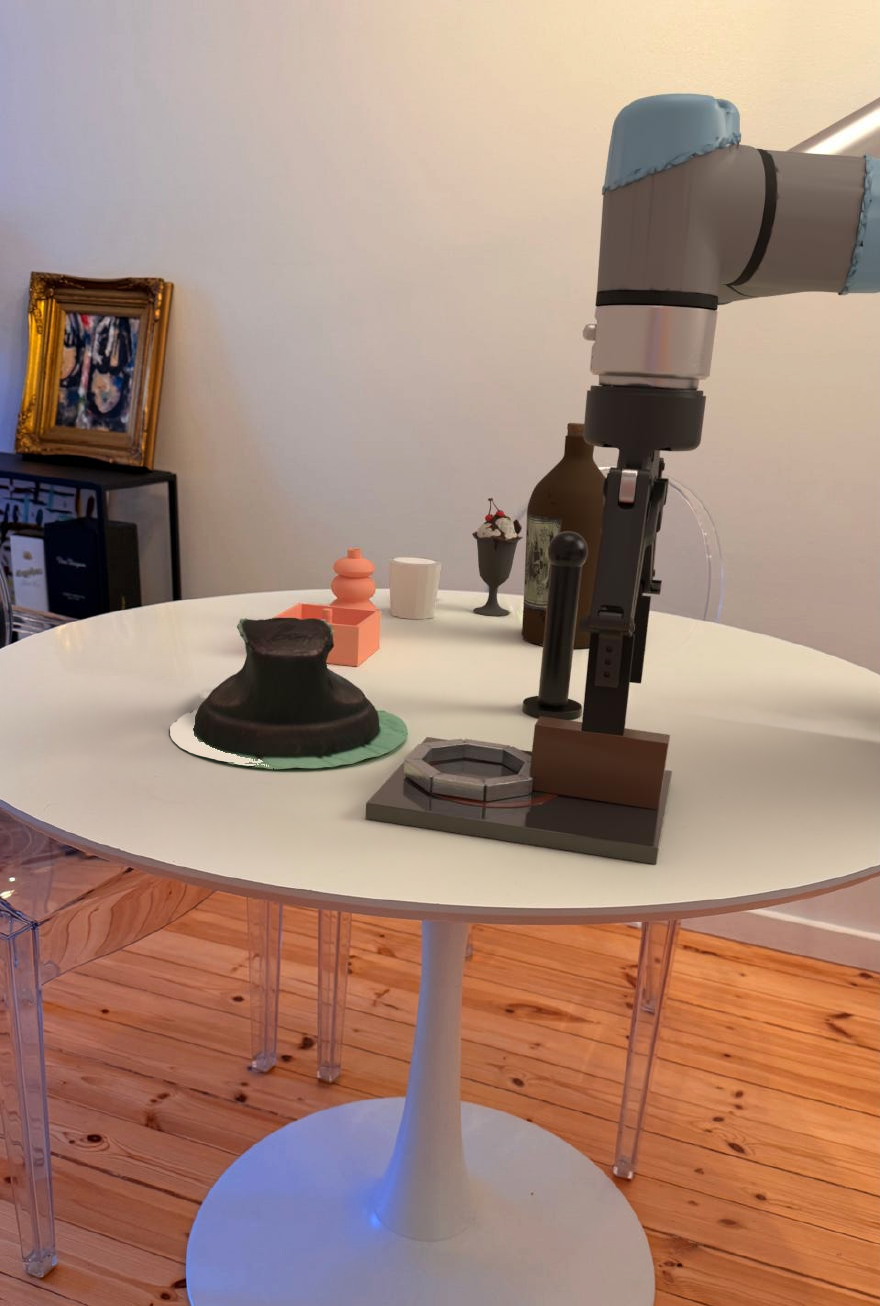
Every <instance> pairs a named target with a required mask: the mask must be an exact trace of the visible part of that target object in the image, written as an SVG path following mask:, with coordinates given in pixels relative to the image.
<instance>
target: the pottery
mask: <svg viewBox="0 0 880 1306" xmlns="http://www.w3.org/2000/svg"><path fill="white" fill-rule="evenodd" d="M362 551H363V549H361V548H353V547H352V548H347V556H345V557H341V558H339V559H337V560H336V561H335V562H334V563H333V566H332V569H333V571H334V573H335V574H337V576H334V578H333V579H332V581H331V584H330V590H331V592H332V594H333V595H334V596H335V597H336V598H335V599H333V600H332V602H330V604H329V605H325V604H315V603H306V602H305V603H304V602H298V603H296V604H295V605H293V606H291V607H289V608H288V609H285V610H284V611H283V612H281V613H278V614H277V615H275V616H273V617H272V618H298V619H301V620H303V619H311V618H314V619H319V620H326V621H327V624H328V625H329V626H330V625H333V628H332V629H331V631H334V633H333V642H334V647H333V648H332V650H331V651H330V652H329V654H328V658H327V660H326V663H327V664H331V665H341V666H349V667H360V665H361V664H362V663H363V662H365V661H366V660H368V658H369V657H371V656H372V655H373V654H374V653H375V652H376V651H378V650H379V649H380V644H381V643H380V641H381V618H382V617H381V615H382V611H381V610H379V609H378V608H377V606H376V604H375V603H374V602H373V601H371V600H370V599H371V598H372V597H374V595H375V594H376V590H377V586H376V582H375V580H374V579H373V578H372V577H370V576H372V575H373V574H374V573H375V571H376V568H375V564H374V563H373V562H372V561H371V560H369V559H367V558H364V557H362V554H363V553H362Z"/></svg>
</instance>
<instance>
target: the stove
mask: <svg viewBox="0 0 880 1306" xmlns="http://www.w3.org/2000/svg"><path fill="white" fill-rule="evenodd" d="M445 740H446V739H444V738H436V737H431V736H430V737H429V736H426V737H425V738H424V739H423V740H422V741H421V743H428V742H437V741H445ZM520 750H521V751H523V752H524V753H526V754H528V755H530V756H532V750H530V751H529V750H524V749H520ZM404 763H405V760H404V761H403V762H402V763H401V764H400V766H399V767H398V768H397V769H396V770H395V771H394V772H393V773H392V774H391V775H390V776H389V777H388V779H387V780H386V781H385V782H384V783H383V784H382V785H381V786H380V787H379V788H378V789H377V791H376V792H375V793H374V794H373V795H372V796H371V797H370V798H369V799H368V800H367V802H366V803H365V819H366V820H371V821H377V822H378V821H379V822H384V823H392V824H398V825H403V826H410V827H415V828H416V827H417V828H422V829H428V830H436V831H441V832H446V833H447V832H449V833H453V834H459V835H460V834H461V835H468V836H473V837H480V838H486V839H493V840H498V841H499V840H500V841H505V842H511V843H518V844H524V845H531V846H536V847H543V848H549V849H556V850H561V851H569V852H575V853H580V854H587V855H588V854H589V855H594V856H600V857H607V858H613V859H619V860H625V861H633V862H638V863H645V864H651V865H657V862H658V857H659V851H660V847H661V846H660V845H661V840H662V835H663V828H664V823H665V817H666V811H667V806H668V800H669V795H670V788H671V783H672V774H673V770H668V769H665V773H664V779H663V786H662V792H661V799H660V804H659V809H658V810H654V809H648V808H642V807H635V806H629V805H623V804H616V803H610V802H604V801H598V800H591V799H585V798H579V797H572V796H566V795H560V794H553V793H547V792H541V791H534V790H533V791H532V793H529V795H524V796H517V797H511V798H504V799H498V800H491V801H485V800H483V801H479V800H473V799H467V798H460V797H454V796H448V795H442V794H436V793H432V792H428V791H427V790H425V789H424V788H422V787H421V786H420V785H418V784H417V783H415V782H414V781H412V780H411V779H410V778H408V777H407V776H405V775H404ZM429 765H430V766H432V767H433V768H435V769H436V770H438V771H440V772H441V773H444V774H450V775H457V776H463V777H469V778H476V779H482V780H483V779H490V778H497V777H504V776H511V775H518V774H519V773H517V772H515V771H514V770H512V769H510V768H509V767H507V766H505V765H503V764H502V763H496V762H489V761H483V760H476V759H470V758H457V759H450V760H442V761H434V762H430V764H429Z"/></svg>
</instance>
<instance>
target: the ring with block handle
mask: <svg viewBox="0 0 880 1306" xmlns="http://www.w3.org/2000/svg"><path fill="white" fill-rule="evenodd" d="M581 728H582V721H577V720H563V719H556V718H549V717H542V716H540V717H539V718H538V719H537V720H536V722H535V724H534V729H533V737H532V746H531V747H532V749H531V751H532V756H530V755H528V754H526V753H524V752H523V751H521V750H522V749H519V748H517V747H516V746H513V745H512V746H511V745H509V744H502V743H498V742H497V743H496V742H490V741H483V740H476V739H470V738H464V739H462V738H455V739H454V738H453V739H445V741H437V742H428V743H422V742H421V743H418V744H417V745H415V747H414V748H413V749H412V750H411V751H410V752H409V753H408V754H407V756H406V757H404V761H405V763H404V775H405V776H407V777H408V778H410V779H411V780H412V781H414V782H415V783H417V784H418V785H420V786H421V787H422V788H424V789H425V790H427V791H428V792H432V793H436V794H442V795H448V796H454V797H460V798H467V799H473V800H479V801H483V800H485V801H491V800H498V799H504V798H511V797H517V796H524V795H529V793H532V791H533V790H534V791H541V792H547V793H553V794H560V795H566V796H572V797H579V798H585V799H591V800H598V801H604V802H610V803H616V804H623V805H629V806H635V807H642V808H648V809H654V810H658V809H659V804H660V799H661V792H662V786H663V779H664V773H665V770H666V765H667V758H668V754H669V753H668V752H669V745H670V739H671V734H668V733H667V734H666V733H660V732H652V731H647V730H639V729H633V728H626V727H625V731H624V735H623V736H619V735H610V734H602V733H593V732H585V731H581ZM457 758H470V759H476V760H483V761H489V762H496V763H502V764H503V765H505V766H507V767H509V768H510V769H512V770H514V771H515V772H517V773H519V774H518V775H511V776H504V777H497V778H490V779H483V780H482V779H476V778H469V777H463V776H457V775H450V774H444V773H441V772H440V771H438V770H436V769H435V768H433V767H432V766H430V765H429V764H430V762H434V761H442V760H450V759H457Z"/></svg>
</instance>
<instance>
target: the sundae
mask: <svg viewBox="0 0 880 1306" xmlns="http://www.w3.org/2000/svg"><path fill="white" fill-rule="evenodd" d="M487 501H488V502H489V505H490V506H489V510H488V513H487V514H486V515H485V517H484V520H485V522H483V523H481V525H480V526H479V527H478V529H477V531H476V530H475V531H474V532H472V534H471V535H472V537H473V539H475V540H476V546H477V563H478V564H477V565H478V572H479V576H480V578H481V580H482V581H483V582H484V583H485V584H486V585H487V586H488V596H487V600H486V602H485V603H484V604H483V606H479V607H475V608H473V610H472V611H473V613H475V614H478V615H481V616H487V617H489V616H490V617H504V616H509V615H510V614H511V611H510V610H508V609H506V608H504V607H501V605H500V604H499V601H498V589H499V587H500V586H502V585H503V584H505V582H506V581H507V580H508V579H509V578H510V576H511V572H512V568H513V563H514V558H515V554H516V550H517V545H518V543H519V541H521V540H522V539H523V538H524V537H523V536H520V535H519V534H520V533H521V532H522V529H523V527H522V525H521V523H520V522H519V520H518V519H517V518H516V519H514V521H512V518H511V517H510V516H507V515H506V514H505V512H504V511H503V510H501V509H499V508H498V507H497V505H496V504H495V502H494V498H493V497H489V498H487ZM492 504H493V506H494V508H496V510H497V511H495V513H494V514H491V510H492Z"/></svg>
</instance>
